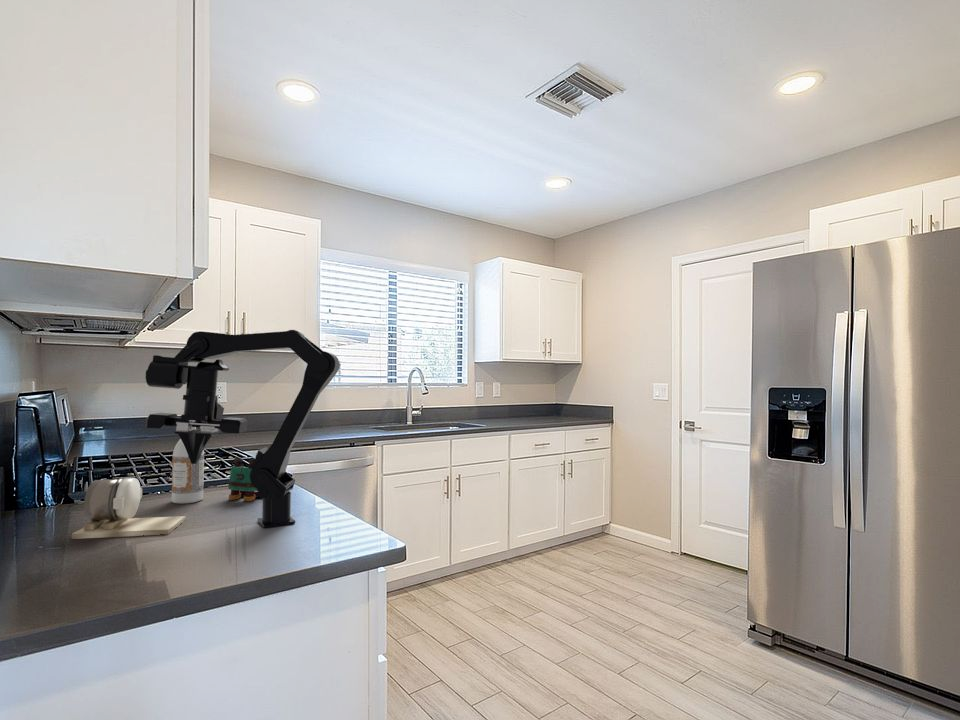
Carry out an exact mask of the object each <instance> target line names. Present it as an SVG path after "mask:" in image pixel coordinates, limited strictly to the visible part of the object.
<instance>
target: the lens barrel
mask: <svg viewBox="0 0 960 720" xmlns="http://www.w3.org/2000/svg"><path fill="white" fill-rule="evenodd" d="M123 479H125V478H124V477H123V478H122V477H121V478H118V479H95V480H93V481H92V482H90V484H89V485H88V488H87V490H86V492H85V495H84V501H83V511H84V512H83V513H84V516H85V518H86V519H87V520H88V522H91V521H100V520H114V521H120V520H122V519H121V518H119V517H118V516H117V514H116V510H115V509H113V499H114V498H115V497H116V492H117V489H118V486H119V484H120V483H121V481H122V480H123Z"/></svg>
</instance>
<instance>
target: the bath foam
mask: <svg viewBox="0 0 960 720" xmlns="http://www.w3.org/2000/svg"><path fill="white" fill-rule="evenodd" d="M195 429H197V427H195ZM171 465H172V466H171V467H172V469H171V471H172V472H171V473H172V474H171V502H172V503H174V504H179V505H180V504H181V505H183V504H193V503H197V502H200V501H202V500H203V498H204V481H205V480H204V479H205V478H204V474H205V473H204V472H205V471H204V470H205V450H203V452H202V454H201V456H200V458H199V460H198V462H197V464H191V461H190V459H189V456H188V454H187V451H186V448H185V446H184V444H183V442H182V440H181V438H180V439H179V440H178V441H177V443H176V444H175V446H174V448H173V452H172V463H171Z"/></svg>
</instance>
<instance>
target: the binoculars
mask: <svg viewBox="0 0 960 720" xmlns="http://www.w3.org/2000/svg"><path fill="white" fill-rule="evenodd" d="M254 460H255V458H252V459H249V460H248V466H247V467H246V466H243V465H242V463H243V461H244V458H241V457H236V456H235V457H234V459H233V462H234V465H233V466H231V468H230V472H229V473H230V474H229V481H228V490H230V493H229V495H228V500H231V501H235V500H237V499H240V498H241V497H243V501H244V502H252V501H254V500H255V499H256V498H258V497H260V496H259V493H258V491H257V488H256V487H254V486H253V485H252V483H251V481H250V478H249V474H250V471H251V470H252V469H249V467H250V466H251V465H252V464H253V462H254Z"/></svg>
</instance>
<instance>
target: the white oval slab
mask: <svg viewBox="0 0 960 720" xmlns="http://www.w3.org/2000/svg"><path fill="white" fill-rule="evenodd" d="M139 481H140V480H138V478H135V477H126V478H125V479H123V480H122V481H121V483H120V484H119V486H118V489H117V492H116V497H115V498H114V499H113V509H115V510H116V514H117V516H118V517H119V518H121V519H124V518H128V519H129V518H134V516H136V514H137V512H138V509H139V506H140V502H141V499H142V498H143V488H142V487H141V484H140V482H139Z"/></svg>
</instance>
